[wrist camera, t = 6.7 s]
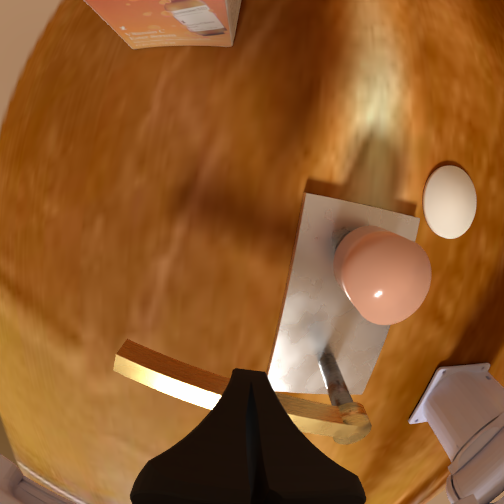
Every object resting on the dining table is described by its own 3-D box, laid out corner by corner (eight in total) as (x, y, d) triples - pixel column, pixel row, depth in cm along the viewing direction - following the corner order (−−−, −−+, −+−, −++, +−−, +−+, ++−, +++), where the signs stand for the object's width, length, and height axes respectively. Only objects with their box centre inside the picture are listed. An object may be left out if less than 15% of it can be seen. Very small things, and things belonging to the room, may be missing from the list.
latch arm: (371, 405, 16) (378, 421, 14) (351, 429, 16) (357, 445, 15) (129, 330, 14) (117, 345, 13) (122, 362, 15) (112, 378, 13)
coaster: (477, 177, 19) (480, 177, 19) (466, 243, 20) (468, 244, 20) (428, 156, 19) (431, 156, 18) (416, 230, 20) (418, 231, 20)
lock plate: (413, 216, 20) (469, 234, 13) (358, 387, 24) (382, 440, 17) (303, 192, 20) (329, 199, 13) (264, 382, 23) (266, 442, 17)
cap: (407, 232, 17) (440, 246, 13) (389, 300, 18) (415, 327, 14) (342, 219, 17) (365, 230, 13) (325, 293, 18) (342, 321, 14)
